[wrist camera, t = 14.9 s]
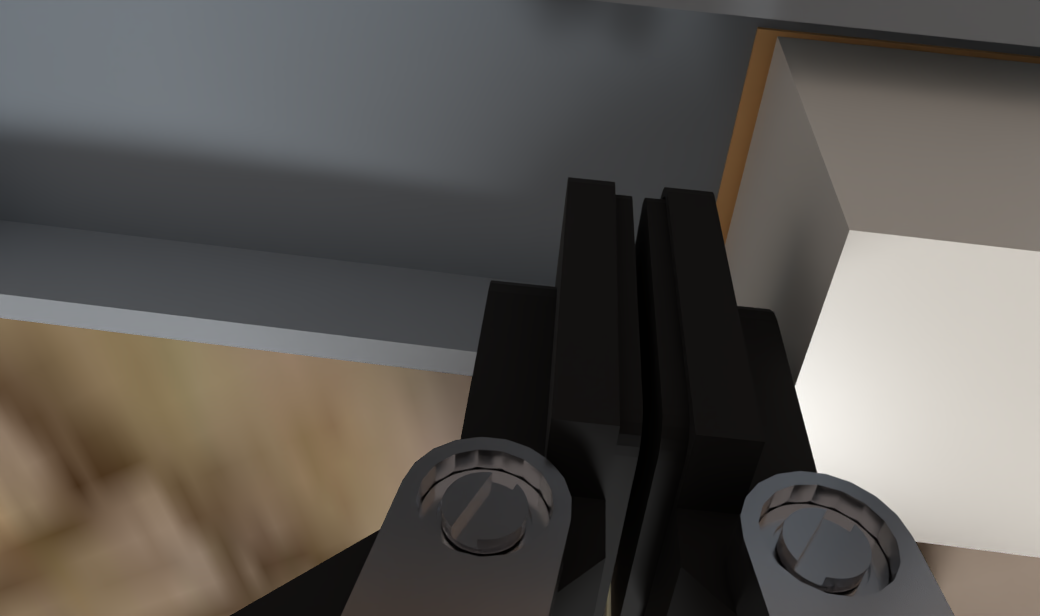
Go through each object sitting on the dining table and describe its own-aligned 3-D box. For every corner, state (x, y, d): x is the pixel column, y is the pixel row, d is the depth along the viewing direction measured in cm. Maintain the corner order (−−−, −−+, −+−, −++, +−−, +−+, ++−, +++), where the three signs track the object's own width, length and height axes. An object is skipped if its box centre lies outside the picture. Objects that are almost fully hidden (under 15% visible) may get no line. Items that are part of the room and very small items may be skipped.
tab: (1078, 67, 12) (1310, 282, 8) (966, 307, 14) (1096, 565, 10) (777, 36, 12) (849, 229, 8) (716, 277, 14) (748, 520, 10)
